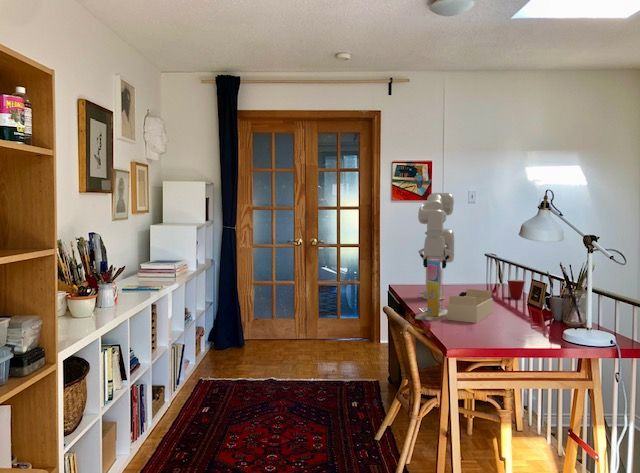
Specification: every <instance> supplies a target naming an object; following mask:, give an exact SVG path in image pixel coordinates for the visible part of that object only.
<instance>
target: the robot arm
mask: <svg viewBox="0 0 640 473" xmlns="http://www.w3.org/2000/svg"><path fill="white" fill-rule="evenodd" d="M454 203H455V202H454V197H453V195H452V193H450V192H432V193H430V194H429V195H428V196H427V200H426V201H424V202H423V203H422V205H421V206H420V207H418V208H419V209H418V215H417V219H418V221H419V223H420V224H423V225H426V231H424V234H425V235H426V236H425V239H424V245H423V248H421V249H420V250H418V253H419V257H420V258H421V259H422V261H423V262H422V263H423V264H422V265H423V268H425V290H419V293H418V294H419V295H422V299H424V300H427V284H428V261H429V260H430V259H440V263H441V266H440V301H442V300H444V299H445V296H443V295H442V290H443V289H442V286H443V285H442V283H443V282H442V277H443V274H442V273H443V272H442V271H443V270H442V269H446V267H447V264H448V263H452V262H454V259H455V232H454V230H452V229H451V228H444V226H443V224H444V223H446V221H447V216H451V215H452V214H453V211H454Z"/></svg>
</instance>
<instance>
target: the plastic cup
mask: <svg viewBox="0 0 640 473" xmlns="http://www.w3.org/2000/svg"><path fill="white" fill-rule="evenodd" d="M506 281H507V284H508V289H509V296H510V299H512V298H513V300H520V299H519V298H521V299H522V297H523V296H522V295H523V290H524V286H525V282H526V280H524V279H507V280H506Z"/></svg>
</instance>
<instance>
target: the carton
mask: <svg viewBox="0 0 640 473" xmlns="http://www.w3.org/2000/svg"><path fill="white" fill-rule="evenodd" d="M465 290H466V291H465V292H466V296H464V297H462V296H459V295H449V296H448V300H449V301H448V303H447V304H446V305H447V307H446V308H447V309H446V310H447V316H446V317H447V318H446V319H447V320H448V321H455V322H466V323H474V324H477V323H480V322H481V321H483V320H484V319H486V318H488V317H489V316H491V315H492V314H493V312H494V310H493V308H494V307H493V306H494V299H493V298H492V290H489V289H476V288H466V289H465Z"/></svg>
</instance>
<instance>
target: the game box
mask: <svg viewBox="0 0 640 473" xmlns="http://www.w3.org/2000/svg"><path fill="white" fill-rule="evenodd" d="M440 267H441V262H440V259H430V260H429V261H428V284H427V299H426V303H427V304H426V309H427V310H426V311H427V316H438V315H439V311H440V309H441V300H440Z"/></svg>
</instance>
